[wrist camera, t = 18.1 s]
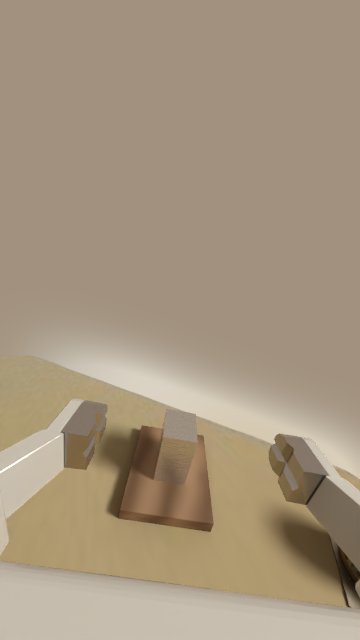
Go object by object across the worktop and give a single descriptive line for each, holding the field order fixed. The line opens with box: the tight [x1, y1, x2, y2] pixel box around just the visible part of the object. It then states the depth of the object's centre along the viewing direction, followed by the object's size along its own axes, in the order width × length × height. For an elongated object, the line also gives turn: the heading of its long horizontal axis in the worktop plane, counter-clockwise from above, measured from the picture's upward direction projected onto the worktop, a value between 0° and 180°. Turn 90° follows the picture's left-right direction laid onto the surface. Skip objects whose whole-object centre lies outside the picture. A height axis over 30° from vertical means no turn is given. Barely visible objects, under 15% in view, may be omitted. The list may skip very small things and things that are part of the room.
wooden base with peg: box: [119, 426, 213, 532], centre depth 32 cm, size 14×14×7 cm
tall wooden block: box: [154, 409, 198, 485], centre depth 31 cm, size 5×5×10 cm
